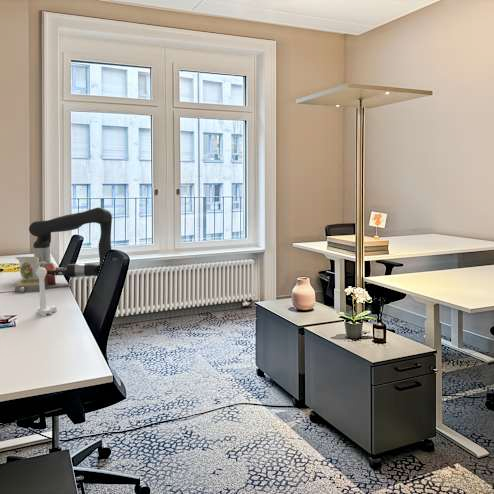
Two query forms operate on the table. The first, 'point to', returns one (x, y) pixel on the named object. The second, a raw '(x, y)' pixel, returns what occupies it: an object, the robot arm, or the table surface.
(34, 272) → the pitcher
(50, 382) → the table surface
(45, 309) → the joystick
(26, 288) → the grey tray
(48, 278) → the spout can
